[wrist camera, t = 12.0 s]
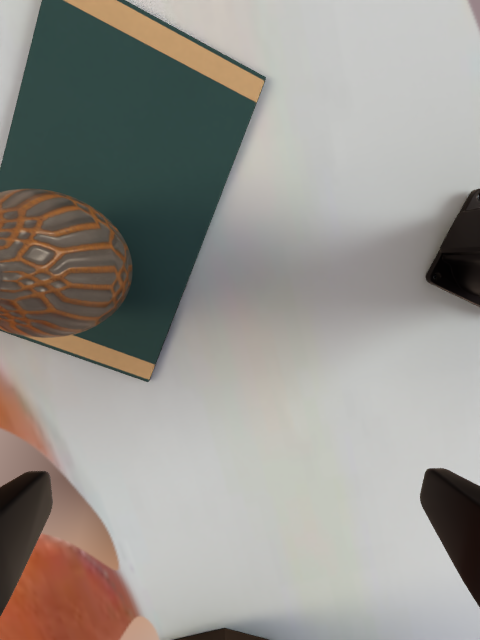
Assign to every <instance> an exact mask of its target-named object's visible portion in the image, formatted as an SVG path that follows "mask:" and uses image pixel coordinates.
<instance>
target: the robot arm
mask: <svg viewBox="0 0 480 640" xmlns="http://www.w3.org/2000/svg"><path fill="white" fill-rule="evenodd" d="M478 195H479V200H478V199H477V196H478ZM435 273H436V278H435V279H434V275H435ZM426 280H427V282H429V283H430V284H432V285H434V286H437V287H439V288H441V289H443V290H445V291H447V292H449V293H451V294H453V295H456V296H458V297H460V298H462V299H464V300H466V301H468V302H470V303H472V304H475V305H477V306H479V307H480V189H476V190H473V191H472V192H471V193H470V194H469V196H468V198H467V200H466V202H465V203H464V205H463V207H462V209H461V211H460V213H459V214H458V215H457V217H456V219H455V221H454V223H453V225H452V226H451V228H450V230H449V232H448V234H447V236H446V238H445V239H444V241H443V243H442V245H441V247H440V250H439V252H438V254H437V255H436V257H435V259H434V261H433V263H432V265H431V267H430V268H429V270H428V272H427V274H426ZM420 501H421V504H422V507H423V509H424V511H425V513H426V515H427V516H428V518H429V520H430V522H431V524H432V526H433V527H434V529H435V531H436V533H437V535H438V536H439V538H440V540H441V542H442V544H443V546H444V547H445V549H446V551H447V553H448V555H449V557H450V558H451V560H452V562H453V564H454V566H455V568H456V569H457V571H458V573H459V575H460V576H461V578H462V580H463V582H464V583H465V585H466V586H467V588H468V590H469V591H470V593H471V595H472V596H473V598H474V599H475V601H476V602H477V604H478V605H479V607H480V486H478V485H476V484H474V483H472V482H470V481H468V480H467V479H465V478H463V477H461V476H459V475H457V474H455V473H453V472H451V471H449V470H447V469H443V468H430V469H427V471H426V472H425V475H424V479H423V484H422V489H421V493H420ZM52 503H53V500H52V490H51V480H50V475H49V473H48V472H46V471H29V472H26V473H24V474H22V475H20V476H19V477H17V478H15V479H14V480H12V481H10V482H8V483H7V484H5V485H3V486H2V487H0V616H1V614H2V612H3V610H4V609H5V607H6V605H7V603H8V601H9V599H10V597H11V595H12V593H13V591H14V589H15V587H16V585H17V583H18V581H19V579H20V577H21V575H22V573H23V570H24V568H25V566H26V564H27V562H28V560H29V558H30V555H31V553H32V551H33V549H34V547H35V545H36V543H37V541H38V538H39V536H40V534H41V532H42V530H43V527H44V526H45V523H46V521H47V519H48V517H49V515H50V512H51V509H52Z"/></svg>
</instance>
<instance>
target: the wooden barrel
mask: <svg viewBox="0 0 480 640" xmlns="http://www.w3.org/2000/svg"><path fill="white" fill-rule="evenodd" d="M176 640H268V639H264V638H260V637H257V636H253V635H249V634H245V633H241V632H237V631H233V630H230V629H226V628H223V629H219V630H215V631H210V632H206V633H202V634H197V635H193V636H189V637H184V638H180V639H176Z"/></svg>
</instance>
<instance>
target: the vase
mask: <svg viewBox="0 0 480 640" xmlns="http://www.w3.org/2000/svg"><path fill="white" fill-rule="evenodd" d="M131 281H132V260H131V255H130V252H129V249H128V246H127V244H126V242H125V240H124V238H123V237H122V235H121V233H120V232H119V231H118V229H117V228H116V227H115V226H114V225H113V223H112V222H111V221H110V220H109V219H108V218H106V217H105V216H104V215H103V214H102V213H100V212H99V211H97V210H96V209H94V208H93V207H91V206H90V205H88V204H86V203H84V202H82V201H80V200H78V199H76V198H73V197H71V196H68V195H65V194H62V193H58V192H54V191H49V190H41V189H16V190H8V191H3V192H0V329H1V330H4V331H7V332H10V333H13V334H18V335H22V336H28V337H39V338H52V337H63V336H69V335H74V334H77V333H81V332H83V331H86V330H88V329H91V328H93V327H95V326H96V325H98V324H100V323H101V322H103V321H105V320H106V319H107V318H108V317H110V316H111V315H112V314H113V313H114V312H115V311H116V310H117V309H118V308H119V307H120V306H121V304H122V303H123V301H124V299H125V298H126V296H127V294H128V291H129V289H130V285H131Z"/></svg>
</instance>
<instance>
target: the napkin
mask: <svg viewBox="0 0 480 640" xmlns="http://www.w3.org/2000/svg"><path fill="white" fill-rule="evenodd" d="M265 79H266V77H264V76H262V75H260V74H259V73H257V72H255V71H253V70H251V69H250V68H248V67H246V66H244V65H242V64H240V63H239V62H237V61H235V60H233V59H231V58H229V57H228V56H226V55H224V54H222V53H220V52H218V51H217V50H215V49H213V48H211V47H209V46H207V45H206V44H204V43H202V42H200V41H198V40H197V39H195V38H193V37H191V36H189V35H187V34H186V33H184V32H182V31H180V30H178V29H176V28H175V27H173V26H171V25H169V24H167V23H165V22H164V21H162V20H160V19H158V18H156V17H154V16H153V15H151V14H149V13H147V12H145V11H144V10H142V9H140V8H138V7H136V6H134V5H133V4H131V3H129V2H127V1H125V0H42V2H41V6H40V10H39V15H38V19H37V23H36V27H35V31H34V35H33V39H32V43H31V47H30V51H29V55H28V59H27V63H26V67H25V71H24V75H23V79H22V83H21V87H20V91H19V95H18V99H17V103H16V107H15V111H14V116H13V120H12V124H11V128H10V132H9V136H8V140H7V144H6V148H5V152H4V156H3V160H2V164H1V168H0V192H3V191H8V190H16V189H41V190H49V191H54V192H58V193H62V194H65V195H68V196H71V197H73V198H76V199H78V200H80V201H82V202H84V203H86V204H88V205H90V206H91V207H93V208H94V209H96V210H97V211H99V212H100V213H102V214H103V215H104V216H105V217H106V218H108V219H109V220H110V221H111V222H112V223H113V225H114V226H115V227H116V228H117V229H118V231H119V232H120V233H121V235H122V237H123V238H124V240H125V242H126V244H127V246H128V249H129V252H130V255H131V260H132V281H131V285H130V289H129V291H128V294H127V296H126V298H125V299H124V301H123V303H122V304H121V306H120V307H119V308H118V309H117V310H116V311H115V312H114V313H113V314H112V315H111V316H110V317H108V318H107V319H106V320H105V321H103V322H101V323H100V324H98V325H96V326H95V327H93V328H91V329H88V330H86V331H83V332H81V333H77V334H74V335H69V336H63V337H52V338H39V337H28V336H22V335H18V334H13V333H10V332H7V331H4V330H1V329H0V331H3V332H6V333H8V334H11V335H14V336H17V337H20V338H23V339H26V340H29V341H31V342H34V343H37V344H40V345H43V346H46V347H49V348H52V349H54V350H57V351H60V352H63V353H66V354H69V355H72V356H75V357H77V358H80V359H83V360H86V361H89V362H92V363H95V364H98V365H100V366H103V367H106V368H109V369H112V370H115V371H118V372H120V373H123V374H126V375H129V376H132V377H135V378H138V379H141V380H143V381H146V382H149V380H150V377H151V375H152V372H153V369H154V367H155V364H156V362H157V359H158V356H159V354H160V351H161V349H162V346H163V343H164V341H165V338H166V336H167V333H168V331H169V328H170V325H171V323H172V320H173V318H174V315H175V312H176V310H177V307H178V305H179V302H180V299H181V297H182V294H183V292H184V289H185V287H186V284H187V281H188V279H189V276H190V274H191V271H192V268H193V266H194V263H195V261H196V258H197V256H198V253H199V250H200V248H201V245H202V243H203V240H204V237H205V235H206V232H207V230H208V227H209V224H210V222H211V219H212V217H213V214H214V212H215V209H216V206H217V204H218V201H219V199H220V196H221V193H222V191H223V188H224V186H225V183H226V180H227V178H228V175H229V173H230V170H231V168H232V165H233V162H234V160H235V157H236V155H237V152H238V149H239V147H240V144H241V142H242V139H243V136H244V134H245V131H246V129H247V126H248V124H249V121H250V118H251V116H252V113H253V111H254V108H255V105H256V103H257V100H258V98H259V95H260V93H261V90H262V87H263V85H264V82H265Z"/></svg>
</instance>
